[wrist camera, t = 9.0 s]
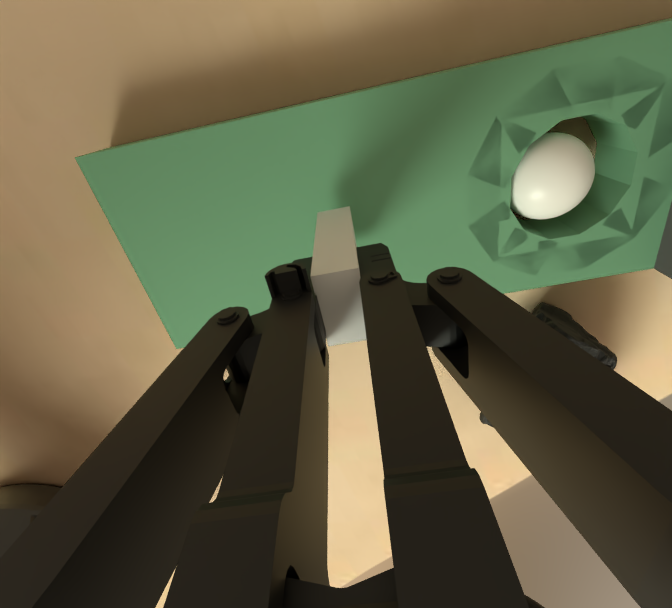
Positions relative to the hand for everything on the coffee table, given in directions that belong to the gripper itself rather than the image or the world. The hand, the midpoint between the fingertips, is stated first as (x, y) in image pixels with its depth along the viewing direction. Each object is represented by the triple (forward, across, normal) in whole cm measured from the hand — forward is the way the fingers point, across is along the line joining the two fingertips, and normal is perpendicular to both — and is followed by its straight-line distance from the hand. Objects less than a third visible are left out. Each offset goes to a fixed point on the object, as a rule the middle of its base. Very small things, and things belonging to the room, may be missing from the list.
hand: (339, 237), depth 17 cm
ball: (+2, +10, 0) cm, 10 cm away
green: (+4, +3, 0) cm, 5 cm away
